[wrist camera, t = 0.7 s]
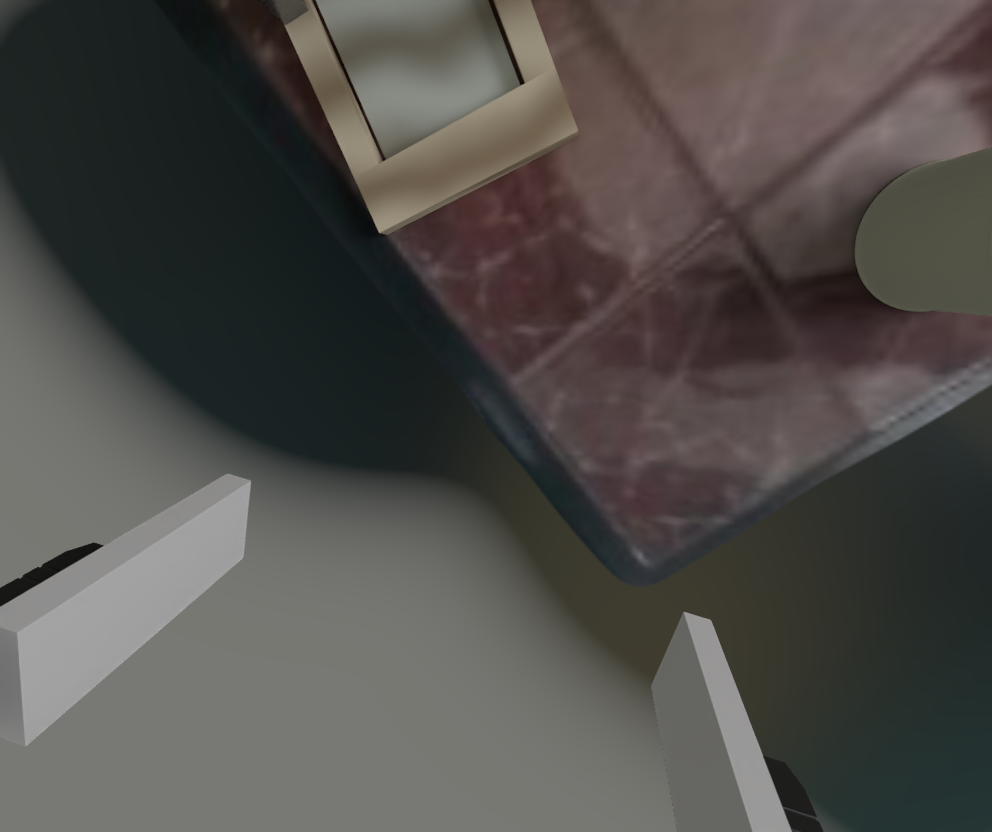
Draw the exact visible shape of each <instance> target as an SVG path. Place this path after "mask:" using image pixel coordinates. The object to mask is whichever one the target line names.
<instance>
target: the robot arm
mask: <svg viewBox="0 0 992 832" xmlns="http://www.w3.org/2000/svg"><path fill="white" fill-rule="evenodd" d="M250 484H251V481H250V480H247V479H243V478H240V477H237V476H234V475H230V474H226V475H224V476H222V477H221V478H219V479H218V480H216V481H214V482H212V483H211V484H209V485H207V486H206V487H204V488H202V489H200V490H199V491H197V492H195V493H193V494H192V495H190V496H188V497H187V498H185V499H183V500H182V501H180V502H178V503H176V504H175V505H173V506H172V507H170V508H168V509H166V510H165V511H163V512H161V513H159V514H158V515H156V516H154V517H153V518H151V519H149V520H147V521H146V522H144V523H142V524H141V525H139V526H137V527H136V528H134V529H132V530H130V531H129V532H127V533H125V534H124V535H122V536H120V537H119V538H117V539H115V540H113V541H112V542H110V543H108V544H107V545H105V546H103V545H100V544H97V543H91V544H88V545H85V546H82V547H79V548H75V549H72V550H69V551H66V552H64V553H62V554H61V555H59V556H57V557H55V558H54V559H52V560H50V561H48V562H46V563H44V564H43V565H42V567H41V568H39V567H37V568H35V569H33V570H32V571H30V572H28V573H26V574H24V575H23V577H22V578H21V579H19V578H17V579H15V580H14V581H12V582H10V583H8V584H6V585H5V586H3V587H1V588H0V738H2V739H5V740H8V741H11V742H14V743H16V744H19V745H22V746H27V745H28V744H29V743H30V742H31V741H33V740H34V739H35V738H36V737H37V736H38V735H39V734H41V733H42V732H43V731H44V730H45V729H46V728H48V727H49V726H50V725H51V724H52V723H53V722H54V721H55V720H57V719H58V718H59V717H60V716H61V715H62V714H64V712H66V711H67V710H68V709H69V708H71V707H72V706H73V705H74V704H75V703H76V702H77V701H79V700H80V699H81V698H82V697H83V696H84V695H85V694H87V693H88V692H89V691H90V690H91V689H92V688H94V687H95V686H96V685H97V684H98V683H99V682H101V681H102V680H103V679H104V678H105V677H106V676H107V675H108V674H110V673H111V672H112V671H113V670H114V669H116V668H117V667H118V666H119V665H120V664H121V663H122V662H124V661H125V660H126V659H127V658H128V657H129V656H131V654H133V653H134V652H135V651H136V650H137V649H139V648H140V647H141V646H142V645H143V644H144V643H146V642H147V641H148V640H149V639H150V638H151V637H152V636H154V635H155V634H156V633H157V632H158V631H159V630H160V629H162V628H163V627H164V626H165V625H166V624H167V623H168V622H170V621H171V620H172V619H173V618H174V617H176V616H177V615H178V614H179V613H180V612H181V611H182V610H184V609H185V608H186V607H187V606H188V605H189V604H190V603H191V602H193V601H194V600H195V599H196V598H197V597H199V596H200V595H201V594H202V593H203V592H204V591H205V590H207V589H208V588H209V587H210V586H211V585H212V584H214V583H215V582H216V581H217V580H218V579H219V578H220V577H222V576H223V575H224V574H225V573H226V572H227V571H229V570H230V569H231V568H232V567H233V566H234V565H235V564H237V563H238V562H239V561H240V560H241V559H242V558H243V557H244V547H245V535H246V526H247V516H248V505H249V494H250ZM651 688H652V693H653V699H654V705H655V710H656V716H657V721H658V727H659V733H660V738H661V744H662V749H663V755H664V761H665V766H666V771H667V778H668V783H669V789H670V794H671V799H672V806H673V811H674V817H675V822H676V827H677V832H823V830H822V827H821V825H820V823H819V822H818V821H817V820H816V814H815V811H814V809H813V807H812V805H811V802H810V800H809V798H808V796H807V793H806V791H805V789H804V787H803V786H802V785H801V784H800V782H799V781H798V780H797V778H796V777H795V776H794V774H793V773H792V771H791V770H790V769H789V767H788V766H787V765H786V763H784V762H781V761H778V760H775V759H772V758H768V757H765V756H763V755H762V753H761V750H760V747H759V745H758V742H757V739H756V737H755V735H754V732H753V729H752V726H751V724H750V721H749V719H748V716H747V713H746V711H745V708H744V705H743V703H742V700H741V698H740V695H739V692H738V690H737V687H736V685H735V682H734V679H733V677H732V674H731V672H730V669H729V666H728V664H727V661H726V658H725V656H724V653H723V651H722V648H721V645H720V643H719V640H718V638H717V635H716V633H715V630H714V628H713V624H712V622H711V620H709V619H706V618H702V617H699V616H695V615H692V614H689V613H686V612H684V613H683V615H682V617H681V619H680V621H679V624H678V626H677V629H676V631H675V633H674V635H673V638H672V640H671V642H670V645H669V647H668V649H667V651H666V654H665V656H664V658H663V660H662V663H661V665H660V667H659V670H658V672H657V674H656V676H655V679H654V681H653V683H652V686H651Z"/></svg>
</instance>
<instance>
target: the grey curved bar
mask: <svg viewBox="0 0 992 832" xmlns="http://www.w3.org/2000/svg"><path fill="white" fill-rule="evenodd" d="M258 1H259V2H260V3H261V4H262V5H264V6H265V7H266V8H267V9H268V10H269V11H270V12H272V13H273V14H274V15H275V16H276V17H277V18H278V19H280V20H281V21H282V22H283V23H284V24H285V25H287V24H289V23H290V22H292V21H293V20H295V19H296V18H298V17H299V16H301V15H302V14H304V13H305V12H307V11H308V8H307V6H306V4H305V2H304V0H258Z"/></svg>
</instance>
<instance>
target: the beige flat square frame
mask: <svg viewBox="0 0 992 832" xmlns="http://www.w3.org/2000/svg"><path fill="white" fill-rule="evenodd" d="M493 1H494V4H495V6H496V9H497V12H498V14H499V17H500V20H501V22H502V25H503V28H504V30H505V33H506V36H507V38H508V41H509V44H510V46H511V49H512V52H513V54H514V57H515V59H516V62H517V65H518V67H519V70H520V73H521V75H522V78H523V81H524V83H525V84H523V85H521V86H520V83H519V80H518V78H517V75H516V72H515V70H514V67H513V64H512V62H511V59H510V57H509V54H508V51H507V49H506V46H505V43H504V41H503V38H502V35H501V33H500V30H499V28H498V25H497V22H496V20H495V17H494V14H493V12H492V9H491V6H490V4H489V1H488V0H316V2H317V4H318V7H319V9H320V11H321V14H322V16H323V18H324V20H325V23H326V25H327V27H328V29H329V32H330V34H331V36H332V39H333V41H334V43H335V45H336V48H337V50H338V52H339V54H340V57H341V59H342V61H343V63H344V66H345V68H346V70H347V73H348V75H349V77H350V79H351V82H352V84H353V86H354V88H355V91H356V93H357V95H358V97H359V100H360V102H361V104H362V107H363V109H364V111H365V113H366V116H367V118H368V120H369V122H370V125H371V127H372V129H373V132H374V134H375V136H376V138H377V141H378V143H379V145H380V147H381V150H382V152H383V154H384V156H385V159H386V160H385V161H383V160H382V157H381V155H380V153H379V151H378V148H377V146H376V144H375V141H374V139H373V137H372V135H371V132H370V130H369V128H368V126H367V123H366V121H365V119H364V117H363V114H362V112H361V110H360V108H359V105H358V103H357V101H356V99H355V96H354V94H353V92H352V89H351V87H350V85H349V83H348V80H347V78H346V76H345V74H344V71H343V69H342V67H341V65H340V62H339V60H338V58H337V56H336V53H335V51H334V49H333V47H332V44H331V42H330V40H329V37H328V35H327V33H326V31H325V28H324V26H323V24H322V22H321V19H320V17H319V15H318V13H317V10H316V8H315V6H314V4H313V1H312V0H304V2H305V4H306V6H307V8H308V11H307V12H305V13H304V14H302V15H301V16H299V17H298V18H296V19H295V20H293V21H292V22H290V23H289V24H287V25H285V24H284V25H285V27H286V30H287V32H288V34H289V36H290V38H291V41H292V43H293V45H294V47H295V49H296V52H297V54H298V56H299V58H300V60H301V63H302V65H303V67H304V69H305V71H306V73H307V76H308V78H309V80H310V82H311V84H312V87H313V89H314V91H315V93H316V95H317V98H318V100H319V102H320V104H321V106H322V109H323V111H324V113H325V115H326V117H327V120H328V122H329V124H330V126H331V128H332V130H333V133H334V135H335V137H336V139H337V141H338V144H339V146H340V148H341V150H342V152H343V155H344V157H345V159H346V161H347V163H348V166H349V168H350V170H351V172H352V174H353V177H354V179H355V181H356V183H357V185H358V187H359V190H360V192H361V194H362V196H363V198H364V201H365V203H366V205H367V207H368V209H369V212H370V214H371V216H372V218H373V220H374V223H375V225H376V227H377V229H378V231H379V233H382V234H386V235H388V234H390V233H392V232H394V231H395V230H397V229H399V228H401V227H403V226H405V225H407V224H409V223H411V222H413V221H415V220H417V219H419V218H421V217H423V216H425V215H427V214H429V213H431V212H433V211H435V210H437V209H439V208H441V207H443V206H445V205H447V204H448V203H450V202H452V201H454V200H456V199H458V198H460V197H462V196H464V195H466V194H468V193H470V192H472V191H474V190H476V189H478V188H480V187H482V186H484V185H486V184H488V183H490V182H492V181H494V180H496V179H498V178H500V177H501V176H503V175H505V174H507V173H509V172H511V171H513V170H515V169H517V168H519V167H521V166H523V165H525V164H527V163H529V162H531V161H533V160H535V159H537V158H539V157H541V156H543V155H545V154H547V153H549V152H551V151H553V150H555V149H556V148H558V147H560V146H562V145H564V144H566V143H568V142H570V141H572V140H574V139H576V138H578V129H577V126H576V123H575V121H574V118H573V115H572V112H571V110H570V107H569V104H568V101H567V99H566V96H565V93H564V90H563V88H562V85H561V82H560V79H559V77H558V74H557V71H556V68H555V66H554V63H553V60H552V57H551V55H550V52H549V49H548V46H547V44H546V41H545V38H544V35H543V33H542V30H541V27H540V24H539V22H538V19H537V16H536V13H535V11H534V8H533V5H532V2H531V0H493Z"/></svg>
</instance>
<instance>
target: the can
mask: <svg viewBox="0 0 992 832" xmlns="http://www.w3.org/2000/svg"><path fill="white" fill-rule="evenodd" d="M855 263H856V267H857V271H858V274H859V276H860V278H861V280H862V282H863V284H864V285H865V287H866V288H867V289H868V290H869V291H870V293H871V294H873V295H874V296H875V297H876V298H877V299H879V300H880V301H882V302H883V303H885V304H887V305H889V306H892V307H894V308H897V309H901V310H906V311H918V312H922V311H946V312H957V313H967V314H978V315H988V316H992V147H990V148H987V149H983V150H980V151H977V152H973V153H970V154H967V155H963V156H960V157H957V158H953V159H946V160H939V161H934V162H930V163H927V164H924V165H921V166H919V167H916V168H914V169H912V170H910V171H908V172H906V173H905V174H903V175H901V176H900V177H898V178H897V179H895V180H894V181H893V182H891V183H890V184H889V185H888V186H887V187H886V188H884V189H883V190H882V192H881V193H880V194H879V195H878V196H877V197H876V198H875V199H874V201H873V202H872V203H871V205H870V206H869V208H868V209H867V211H866V213H865V214H864V216H863V218H862V221H861V223H860V225H859V228H858V232H857V235H856V240H855Z"/></svg>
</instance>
